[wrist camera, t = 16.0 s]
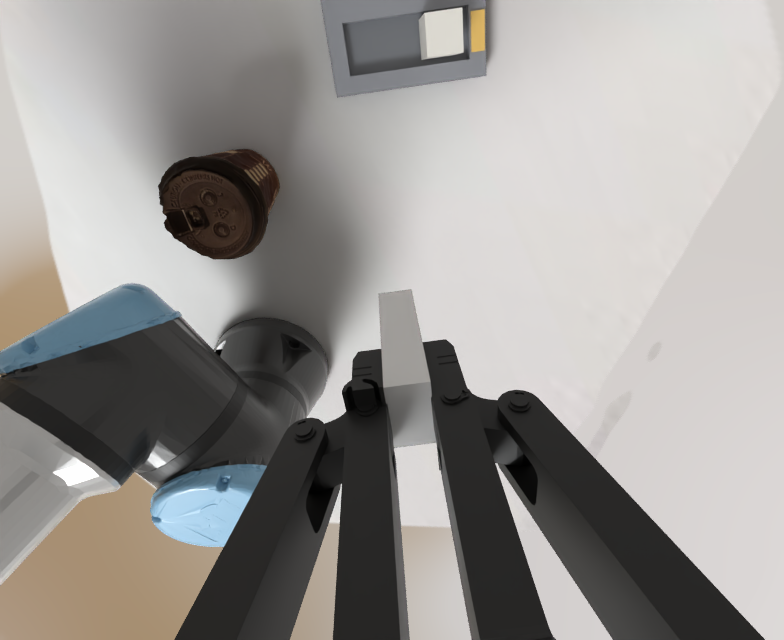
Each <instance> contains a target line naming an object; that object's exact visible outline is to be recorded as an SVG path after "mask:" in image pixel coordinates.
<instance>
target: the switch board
mask: <svg viewBox="0 0 784 640" xmlns="http://www.w3.org/2000/svg"><path fill="white" fill-rule="evenodd" d="M321 5H322V11H323V17H324V23H325V29H326V35H327V41H328V47H329V53H330V58H331V64H332V70H333V76H334V82H335V88H336V94H337V97H343V96H350V95H357V94H364V93H371V92H378V91H385V90H392V89H399V88H405V87H412V86H419V85H426V84H433V83H440V82H447V81H454V80H461V79H468V78H475V77H481V76H486V0H321ZM461 7H462V13H463V46H464V52H463V53H460V54H456V55H451V56H444V57H438V58H431V59H424V60H421V47H420V34H419V21H418V20H419V19H420V18H421V16H422V15H423V14H424V13H428V12H434V11H441V10H448V9H455V8H461Z"/></svg>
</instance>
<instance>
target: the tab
mask: <svg viewBox="0 0 784 640" xmlns="http://www.w3.org/2000/svg"><path fill="white" fill-rule="evenodd" d="M418 21H419V34H420V47H421V60H424V59H431V58H438V57H444V56H451V55H456V54H460V53H463V52H464V46H463V13H462V7H461V8H455V9H448V10H441V11H434V12H428V13H424V14H423V15H422V16H421V18H420V19H419V20H418Z"/></svg>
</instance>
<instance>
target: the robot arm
mask: <svg viewBox="0 0 784 640" xmlns="http://www.w3.org/2000/svg"><path fill="white" fill-rule="evenodd" d="M379 313H380V332H381V349H376V350H369V351H361V352H358V353H357V355H356V356H355V358H354V359H353V367H352V369H353V370H352V380H351V381H349V382H348V383H347V384H346V385H345V386H344V388H343V390H342V395H343V399H344V403H345V407H346V412H345V413H344V414H343V415H342V416H341V417H339V418H337V419H335V420H333V421H331V422H328V423H325V424H324V423H323V422H322V421H320V420H319V419H315V418H306V417H307V416H308V414H309V413H310V411H311V410H312V408H313V407H314V405H315V404H316V402H317V401H318V400H319V399H320V397H321V395H322V393H323V391H324V389H325V386H326V381H327V373H328V363H327V358H326V355H325V353H324V351H323V349H322V347H321V346H320V344H319V343H318V342H317V340H316V339H315V338H314V337H313V336H312V335H310V334H309V333H308V332H307V331H305V330H304V329H302V328H300V327H298V326H296V325H294V324H292V323H289V322H286V321H282V320H278V319H270V318H259V319H252V320H247V321H244V322H241V323H239V324H237V325H235V326H233V327H232V328H230V329H229V330H228V331H226V332H225V333H224V334H223V335H222V337H221V338H220V339H219V341H218V343H217V344H216V346H215V348H214V350H213V349H212V348H211V347H210V346H209V345H208V344H207V343H206V342H205V341H204V340H203V339H202V338H201V337H200V336H199V335H198V334H197V333H196V332H195V331H194V330H193V328H192V327H191V326H190V325H189V324H188V323H187V322H186V321H185V320H184V319H183V318H182V317H181V313H180V312H178V311H174V310H173V309H172V308H171V307H170V306H169V305H168V304H166V303H165V302H164V301H163V300H162V299H161V298H160V297H159V296H158V295H157V294H155V293H154V292H153V291H152V290H151V289H149V288H148V287H146V286H144V285H141V284H135V283H130V284H124V285H121V286H119V287H117V288H114V289H112V290H111V291H109V292H107V293H105V294H103V295H101V296H99V297H97V298H95V299H94V300H92V301H90V302H88V303H86V304H84V305H82V306H81V307H79V308H77V309H75V310H73V311H72V312H70V313H68V314H66V315H64V316H62V317H60V318H59V319H57V320H55V321H53V322H51V323H49V324H48V325H46V326H44V327H42V328H40V329H39V330H37V331H35V332H33V333H31V334H30V335H28V336H26V337H24V338H23V339H21V340H19V341H18V342H16V343H14V344H12V345H10V346H9V347H7V348H5V349H3V350H1V351H0V375H1V377H0V585H1V584H2V583H3V582H4V581H5V580H6V579H7V578H8V577H9V576H10V575H11V573H12V572H13V571H14V570H15V569H16V568H17V567H18V566H19V565H20V564H21V563H22V562H23V561H24V560H25V559H26V558H27V556H29V554H30V553H31V552H32V551H33V550H34V549H35V548H36V547H37V546H38V545H39V544H40V543H41V542H42V541H43V540H44V539H45V537H46V536H47V535H48V534H49V533H50V532H51V531H52V530H53V529H54V528H55V527H56V526H57V525H58V524H59V523H60V522H61V520H62V519H63V518H64V517H65V516H66V515H67V514H68V513H69V512H70V511H71V510H72V509H73V508H74V507H75V506H76V505H77V504H78V503H79V501H81V500H83V499H85V498H87V497H89V496H94V495H98V494H103V493H108V492H113V491H116V490H118V489H119V488H120V487H121V486H122V485H123V484H124V482H125V481H126V480H127V479H128V478H129V477H130V476H131V475H132V473H134V472H136V473H138V474H139V475H141V476H142V477H143V478H145V479H146V480H147V481H149V482H150V483H151V484H153V485H154V486H155V487H156V488H157V490H156V492H155V493H154V494H153V496H152V499H151V508H150V512H151V514H152V521H153V523H154V524H155V526H156V527H157V528H158V529H159V530H160V531H162V532H163V533H164V534H166V535H168V536H170V537H171V538H173V539H176V540H179V541H181V542H185V543H188V544H193V545H199V546H208V547H218V546H219V547H224V548H223V550H222V552H221V553H220V555H219V557H218V559H217V561H216V563H215V565H214V567H213V568H212V570H211V572H210V574H209V576H208V578H207V580H206V581H205V583H204V585H203V587H202V589H201V591H200V593H199V595H198V596H197V598H196V600H195V602H194V604H193V606H192V608H191V610H190V611H189V614H188V615H187V617H186V619H185V621H184V623H183V625H182V626H181V628H180V630H179V632H178V634H177V636H176V638H175V640H290V637H291V634H292V631H293V628H294V625H295V622H296V619H297V616H298V613H299V610H300V607H301V604H302V601H303V598H304V595H305V592H306V589H307V586H308V583H309V580H310V577H311V574H312V571H313V568H314V565H315V562H316V559H317V556H318V553H319V550H320V547H321V544H322V541H323V538H324V535H325V532H326V529H327V526H328V523H329V520H330V517H331V514H332V511H333V508H334V505H335V502H336V499H337V496H338V493H339V490H340V485H341V484H342V495H341V512H340V530H339V547H338V563H337V580H336V596H335V614H334V631H333V640H410V639H409V627H408V613H407V600H406V588H405V574H404V561H403V548H402V535H401V522H400V509H399V496H398V483H397V470H396V459H395V453H394V448H398V447H406V446H413V445H421V444H429V443H437V451H438V461H439V470H441V475H442V480H443V485H444V491H445V496H446V502H447V507H448V513H449V518H450V524H451V529H452V535H453V540H454V545H455V551H456V556H457V562H458V567H459V572H460V578H461V584H462V589H463V594H464V599H465V605H466V611H467V616H468V622H469V626H470V633H471V637H472V640H556V639H555V638H554V637H553V635H552V634H551V631H550V629H549V626H548V623H547V620H546V617H545V614H544V611H543V608H542V605H541V602H540V599H539V596H538V593H537V590H536V587H535V584H534V581H533V578H532V575H531V572H530V568H529V566H528V563H527V559H526V556H525V553H524V550H523V547H522V544H521V541H520V538H519V535H518V532H517V529H516V526H515V523H514V520H513V517H512V514H511V510H510V507H509V504H508V501H507V498H506V495H505V492H504V489H503V486H502V483H501V480H500V477H499V474H498V471H497V468H496V465H495V463H498V465H499V468H500V469H501V471H502V472H503V474H504V475H505V477H506V478H507V480H508V481H509V483H510V484H511V486H512V487H513V489H514V490H515V492H516V493H517V495H518V496H519V498H520V499H521V501H522V502H523V504H524V505H525V507H526V508H527V510H528V511H529V513H530V514H531V516H532V518H533V519H534V521H535V522H536V524H537V525H538V527H539V528H540V530H541V531H542V533H543V534H544V536H545V537H546V539H547V540H548V542H549V543H550V545H551V546H552V548H553V549H554V551H555V552H556V554H557V555H558V557H559V558H560V560H561V561H562V563H563V564H564V566H565V568H566V569H567V570H568V572H569V574H570V575H571V577H572V578H573V580H574V581H575V583H576V584H577V586H578V587H579V589H580V590H581V592H582V593H583V595H584V596H585V598H586V599H587V601H588V602H589V604H590V605H591V607H592V608H593V610H594V611H595V613H596V614H597V616H598V618H599V619H600V620H601V622H602V624H603V625H604V627H605V628H606V630H607V631H608V632H609V634H610V636H611V637H612V639H613V640H765V639H764V638H763V637H762V636H761V635H760V634H759V633H758V632H757V631H756V630H755V629H754V628H753V626H751V624H750V623H749V622H748V621H747V620H746V619H745V618H744V617H743V616H742V615H741V614H740V613H739V612H738V610H737V609H736V608H735V607H734V606H733V605H732V604H731V603H730V602H729V601H728V600H727V599H726V598H725V597H724V596H723V594H721V592H720V591H719V590H718V589H717V588H716V587H715V586H714V585H713V584H712V583H711V582H710V581H709V580H708V579H707V577H706V576H705V575H704V574H703V573H702V572H701V571H700V570H699V569H698V568H697V567H696V566H695V565H694V564H693V563H692V562H691V560H690V559H689V558H688V557H687V556H686V555H685V554H684V553H683V552H682V551H681V550H680V549H679V548H678V547H677V545H675V543H674V542H673V541H672V540H671V539H670V538H669V537H668V536H667V535H666V534H665V533H664V532H663V531H662V529H661V528H660V527H659V526H658V525H657V524H656V523H655V522H654V521H653V520H652V519H651V518H650V517H649V516H648V515H647V514H646V512H644V511H643V509H642V508H641V507H640V506H639V505H638V504H637V503H636V502H635V501H634V500H633V499H632V498H631V497H630V495H629V494H628V493H627V492H626V491H625V490H624V489H623V488H622V487H621V486H620V485H619V484H618V483H617V482H616V481H615V480H614V478H613V477H612V476H611V475H610V474H609V473H608V472H607V471H606V470H605V469H604V468H603V467H602V466H601V465H600V463H598V461H597V460H596V459H595V458H594V457H593V456H592V455H591V454H590V453H589V452H588V451H587V450H586V449H585V447H584V446H583V445H582V444H581V443H580V442H579V441H578V440H577V439H576V438H575V437H574V436H573V435H572V434H571V433H570V431H569V430H568V429H567V428H566V427H565V426H564V425H563V424H562V423H561V422H560V421H559V420H558V419H557V418H556V417H555V416H554V414H553V413H552V412H551V411H550V410H549V409H548V408H547V407H546V406H545V405H544V404H543V403H542V402H541V401H540V400H539V398H537V397H536V396H535V395H533V394H532V393H529V392H526V391H522V390H513V391H508V392H506V393H504V394H502V395H501V396H500V397H499V399H498V400H488V399H483V398H480V397H477V396H475V395H474V394H472V393H471V392H470V390H469V389H468V388H467V387H466V384H465V381H464V378H463V374H462V371H461V368H460V365H459V363H458V359H457V356H456V353H455V350H454V346H453V345H452V344H451V343H449V342H448V341H447V340H446V339H445V340H438V341H430V342H422V338H421V333H420V328H419V324H418V319H417V314H416V309H415V304H414V299H413V295H412V290H411V289H410V290H403V291H395V292H388V293H381V294H379Z"/></svg>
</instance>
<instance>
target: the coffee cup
mask: <svg viewBox="0 0 784 640" xmlns="http://www.w3.org/2000/svg"><path fill="white" fill-rule="evenodd" d="M158 188H159V191H160V192H159V196H160V197H159V198H160V205H162V206H163V214H164V215H166V216H167V219H166V220H165V222H164V224H165V228H166V230H167V231H169V232H170V233H171V234H172V235H173V237H174V238H175V239H177V240H178V241H180V242H182V243H183V244H185V245H186V246H187V247H188V248H190V249H192V250H194V251H196V252H197V253H199V254H201V255H203V256H208V257H210V258H212V259H235V258H238V257H241V256H244V255H246V254H249V253H251V252H252V251H253V250H254V249H255V247H256V246H257V245H258V244H259V243H260V242H261V240H262V238H263V236H264V234H265V231H266V226H267V222H268V215H269V213H270V210H271V208H272V206H273V204H274V201H275V198H276V196H277V194H278V191H279V188H280V186H279V180H278V176H277V174H276V172H275V170H274V168H273V167H272V166H271V164H270V163H269V162H268V161H267V160H266V159H265V158H264V157H263V156H262V155H260V154H258V153H257V152H255V151H253V150H249V149H239V150H229V151H226V152H219V153H214V154H211V155H206V156H201V157H189V158H186V159H183V160H180V161H178V162H176V163H174V164H173V165H172V166H171V167H170V168H169V169H168V170H167V171H166V172H165V174H164V176H163V177H162V179H161V183H160V184H159V186H158Z"/></svg>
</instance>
